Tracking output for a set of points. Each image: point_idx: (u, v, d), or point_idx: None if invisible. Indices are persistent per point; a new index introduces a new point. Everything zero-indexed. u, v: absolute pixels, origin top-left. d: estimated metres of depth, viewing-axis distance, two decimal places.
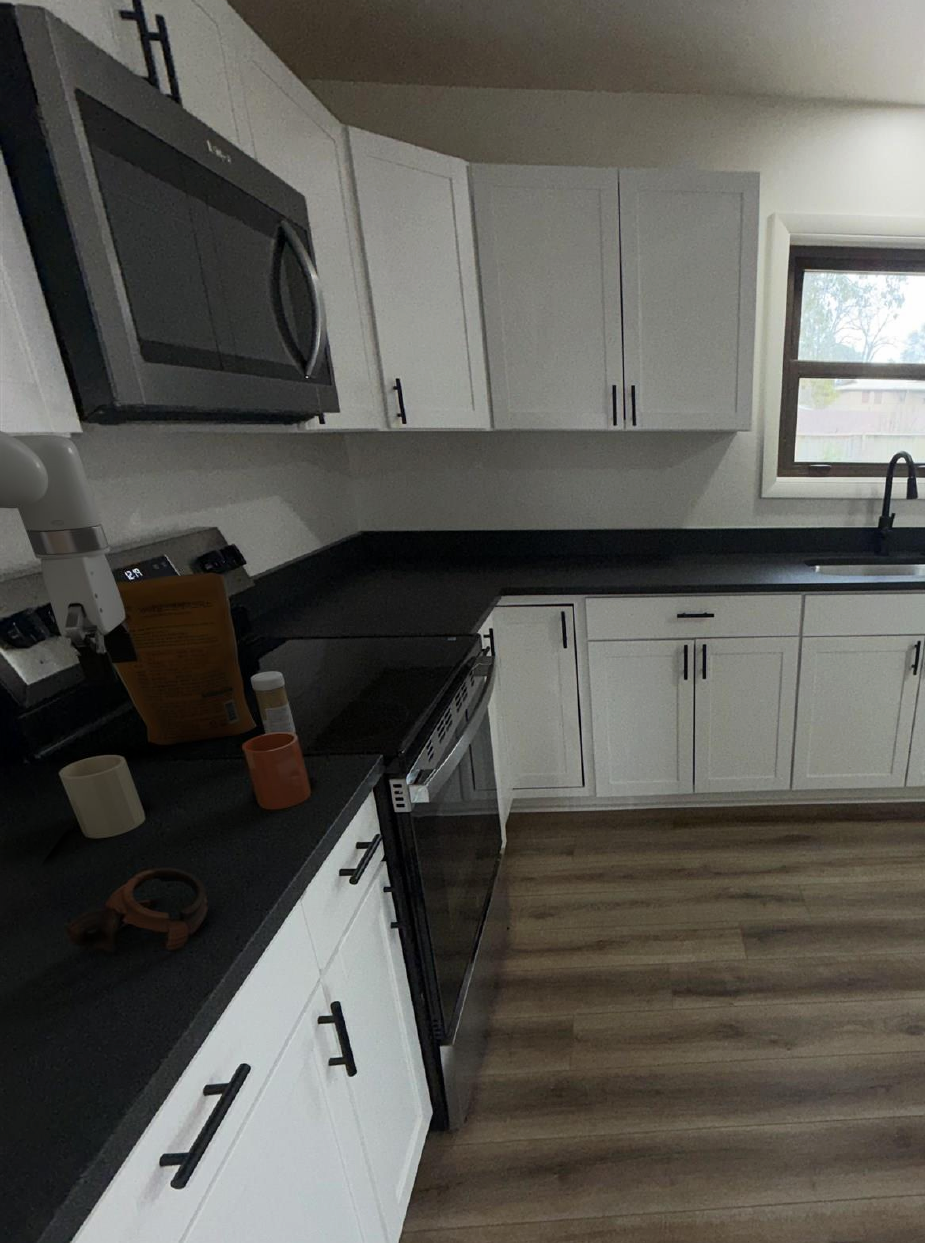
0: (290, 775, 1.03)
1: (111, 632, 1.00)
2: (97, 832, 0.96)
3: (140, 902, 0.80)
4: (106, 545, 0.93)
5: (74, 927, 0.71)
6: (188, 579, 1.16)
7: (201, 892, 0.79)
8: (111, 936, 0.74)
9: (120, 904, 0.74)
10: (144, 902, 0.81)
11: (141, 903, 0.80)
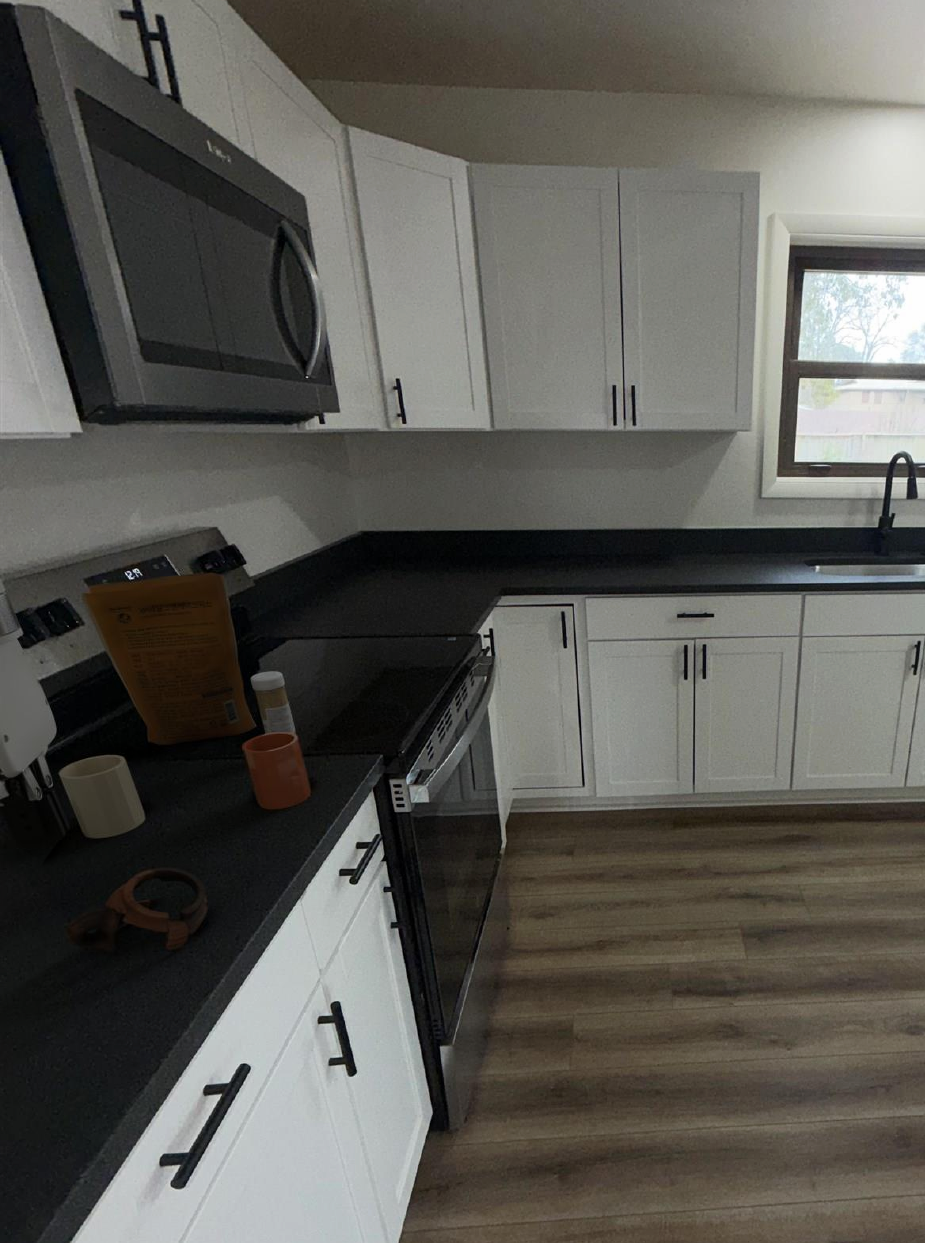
0: (290, 775, 1.03)
1: None
2: (97, 832, 0.96)
3: (140, 902, 0.80)
4: (14, 626, 0.55)
5: (74, 927, 0.71)
6: (188, 579, 1.16)
7: (202, 892, 0.79)
8: (111, 936, 0.74)
9: (120, 904, 0.74)
10: (144, 902, 0.81)
11: (141, 903, 0.80)
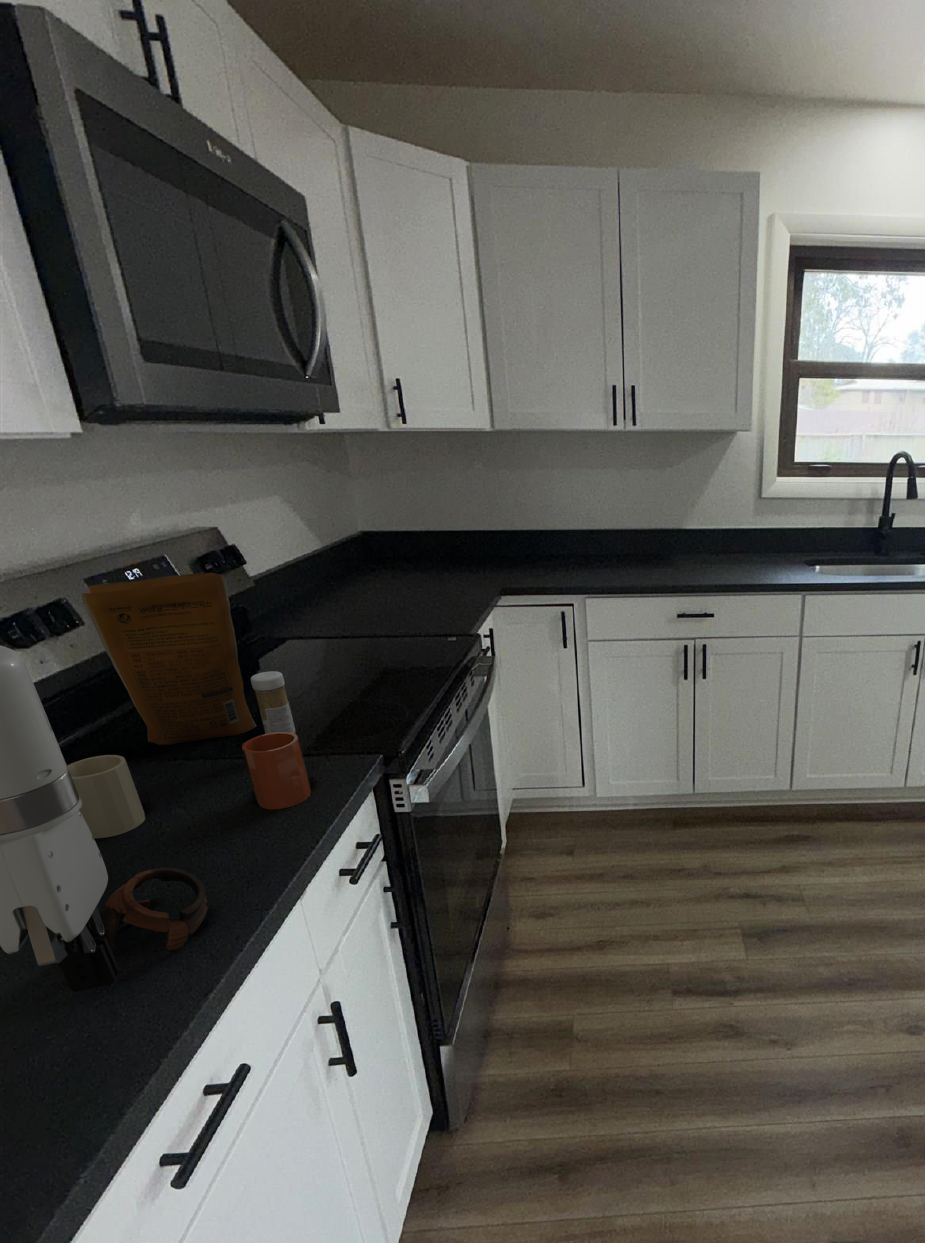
0: (290, 775, 1.03)
1: None
2: (97, 832, 0.96)
3: (140, 902, 0.80)
4: (75, 801, 0.59)
5: None
6: (188, 579, 1.16)
7: (201, 892, 0.79)
8: (111, 936, 0.74)
9: (120, 904, 0.74)
10: (144, 902, 0.81)
11: (141, 903, 0.80)
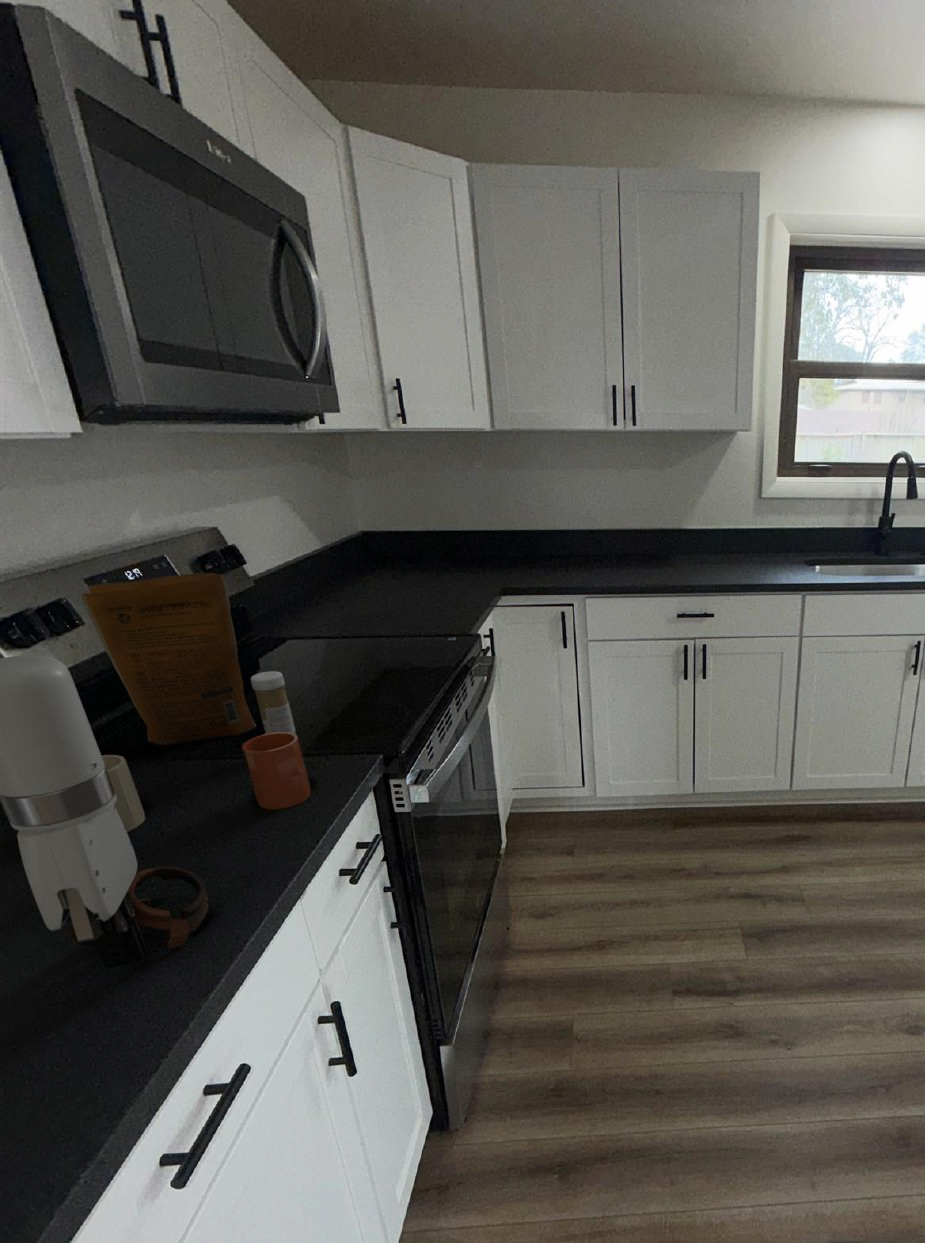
0: (290, 775, 1.03)
1: None
2: None
3: (141, 900, 0.81)
4: (111, 795, 0.66)
5: None
6: (188, 579, 1.16)
7: (202, 890, 0.79)
8: None
9: None
10: (145, 900, 0.81)
11: (142, 901, 0.81)
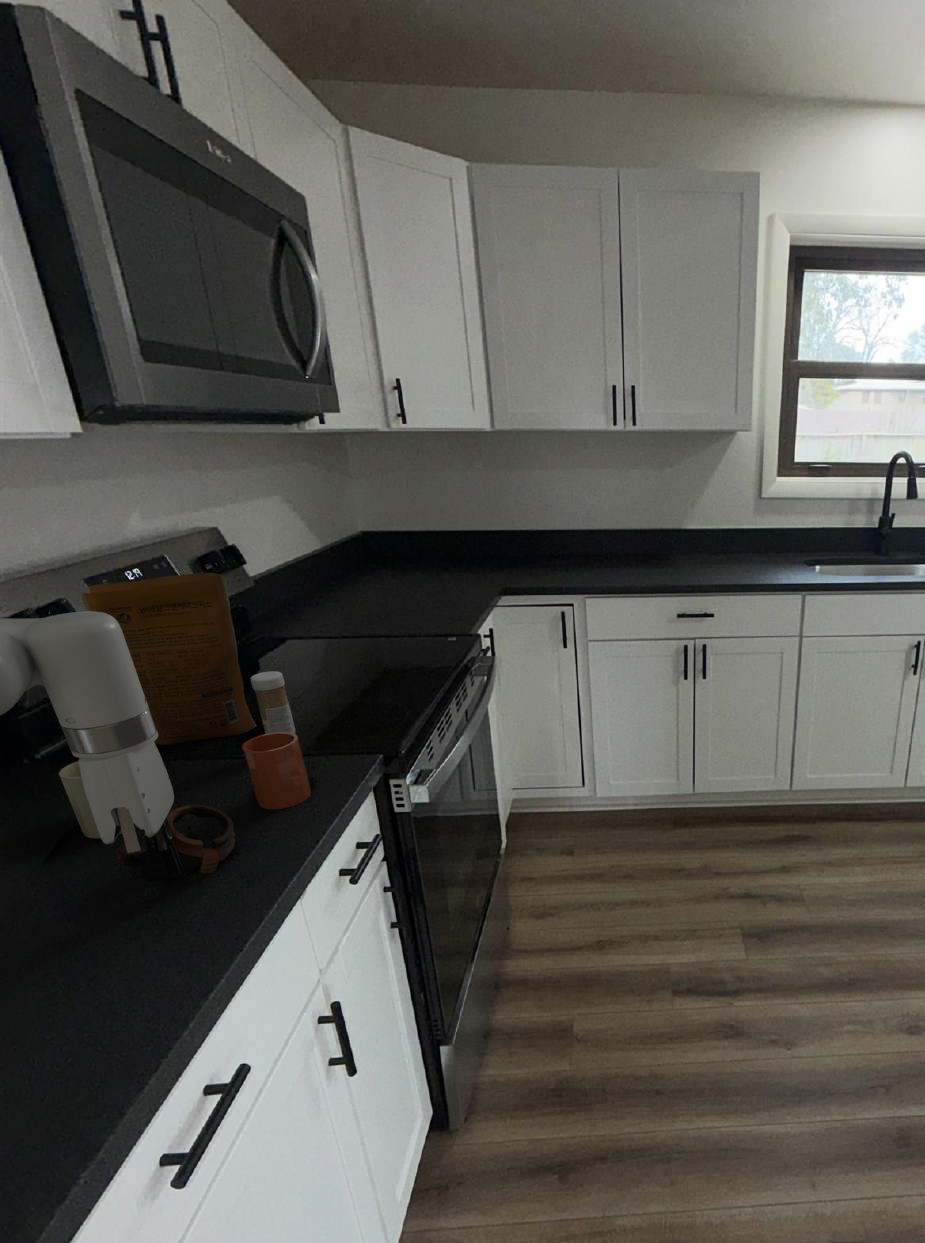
0: (290, 775, 1.03)
1: None
2: (97, 832, 0.96)
3: None
4: (154, 731, 0.78)
5: (124, 849, 0.84)
6: (188, 579, 1.16)
7: (230, 826, 0.91)
8: None
9: None
10: None
11: None
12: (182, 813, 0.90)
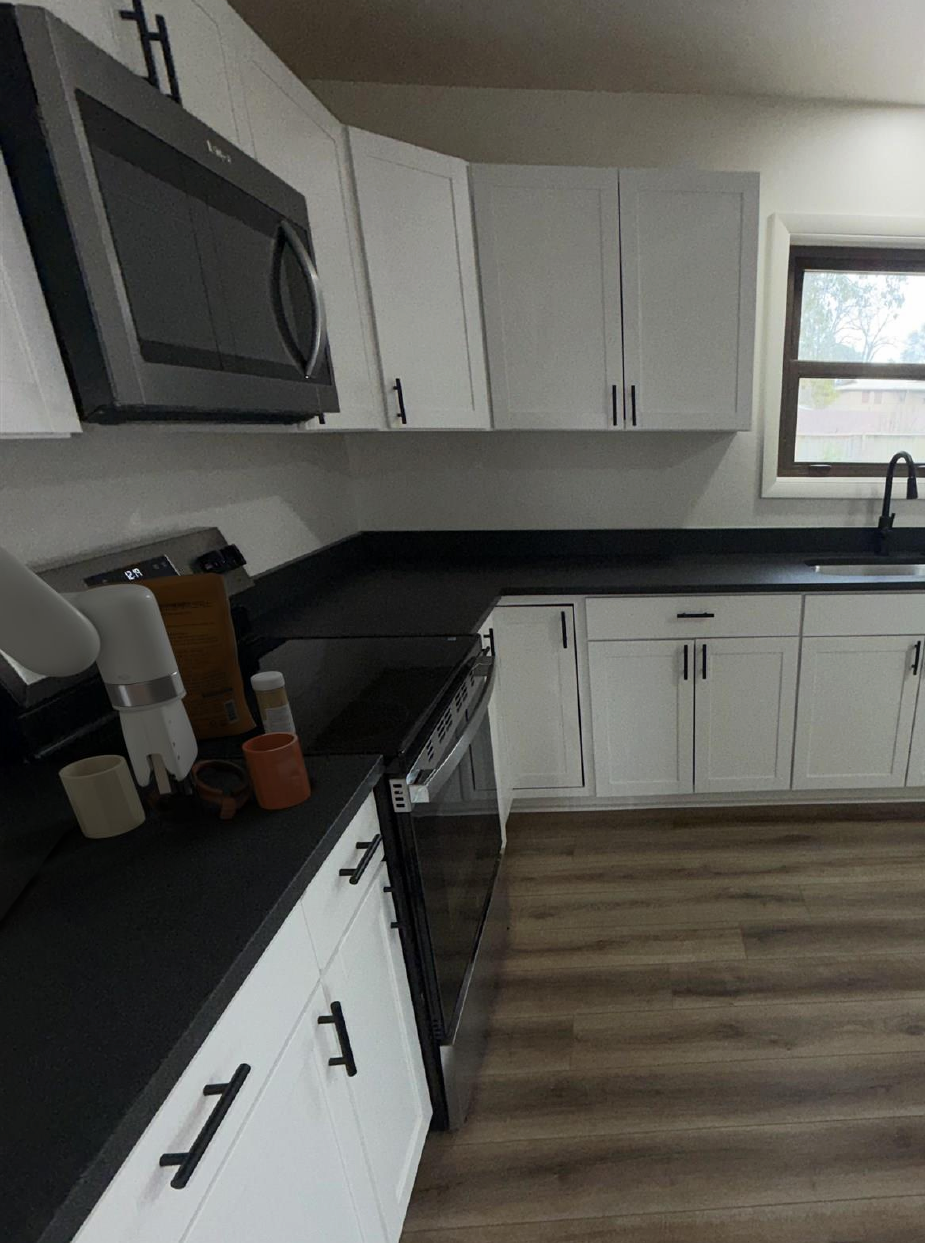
0: (290, 775, 1.03)
1: None
2: (97, 832, 0.96)
3: None
4: (182, 689, 0.90)
5: (154, 795, 0.96)
6: (188, 579, 1.16)
7: (246, 778, 1.03)
8: None
9: None
10: None
11: None
12: (204, 766, 1.02)
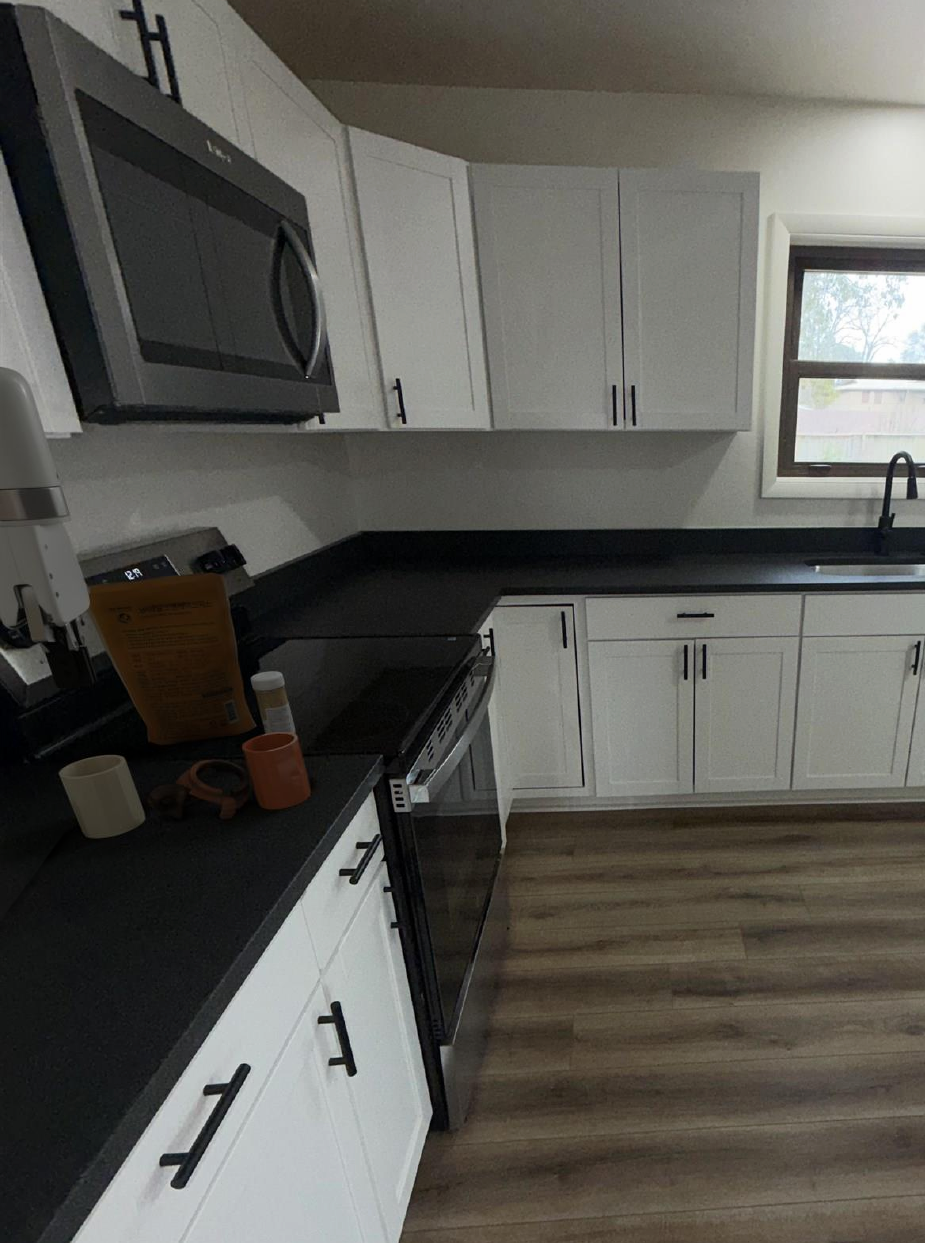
0: (290, 775, 1.03)
1: None
2: (97, 832, 0.96)
3: None
4: (66, 512, 0.73)
5: (154, 795, 0.96)
6: (188, 579, 1.16)
7: (246, 778, 1.03)
8: (180, 805, 0.98)
9: (187, 781, 0.99)
10: None
11: None
12: (204, 766, 1.02)
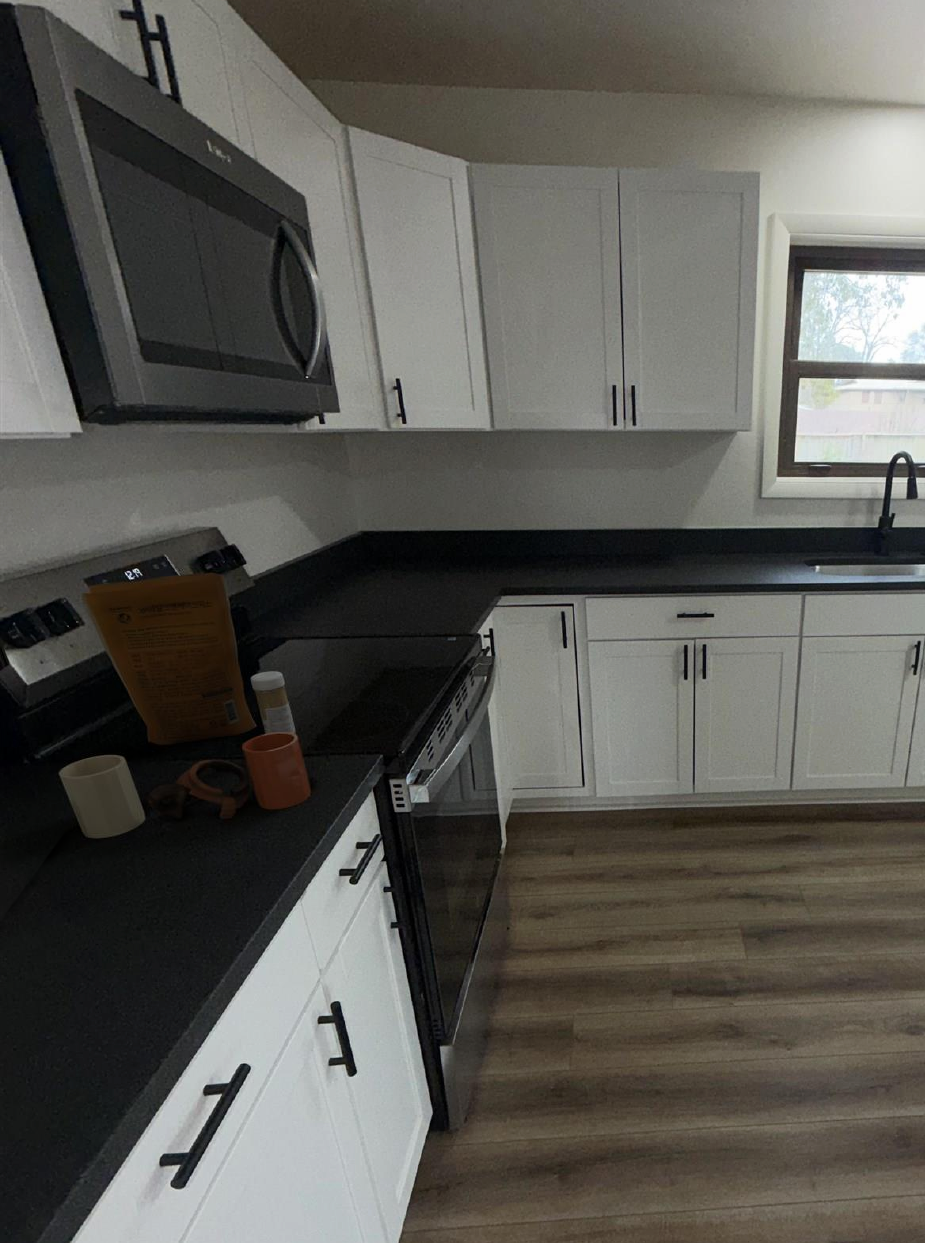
0: (290, 775, 1.03)
1: None
2: (97, 832, 0.96)
3: None
4: None
5: (154, 795, 0.96)
6: (188, 579, 1.16)
7: (246, 778, 1.03)
8: (180, 805, 0.98)
9: (187, 781, 0.99)
10: None
11: None
12: (204, 766, 1.02)
